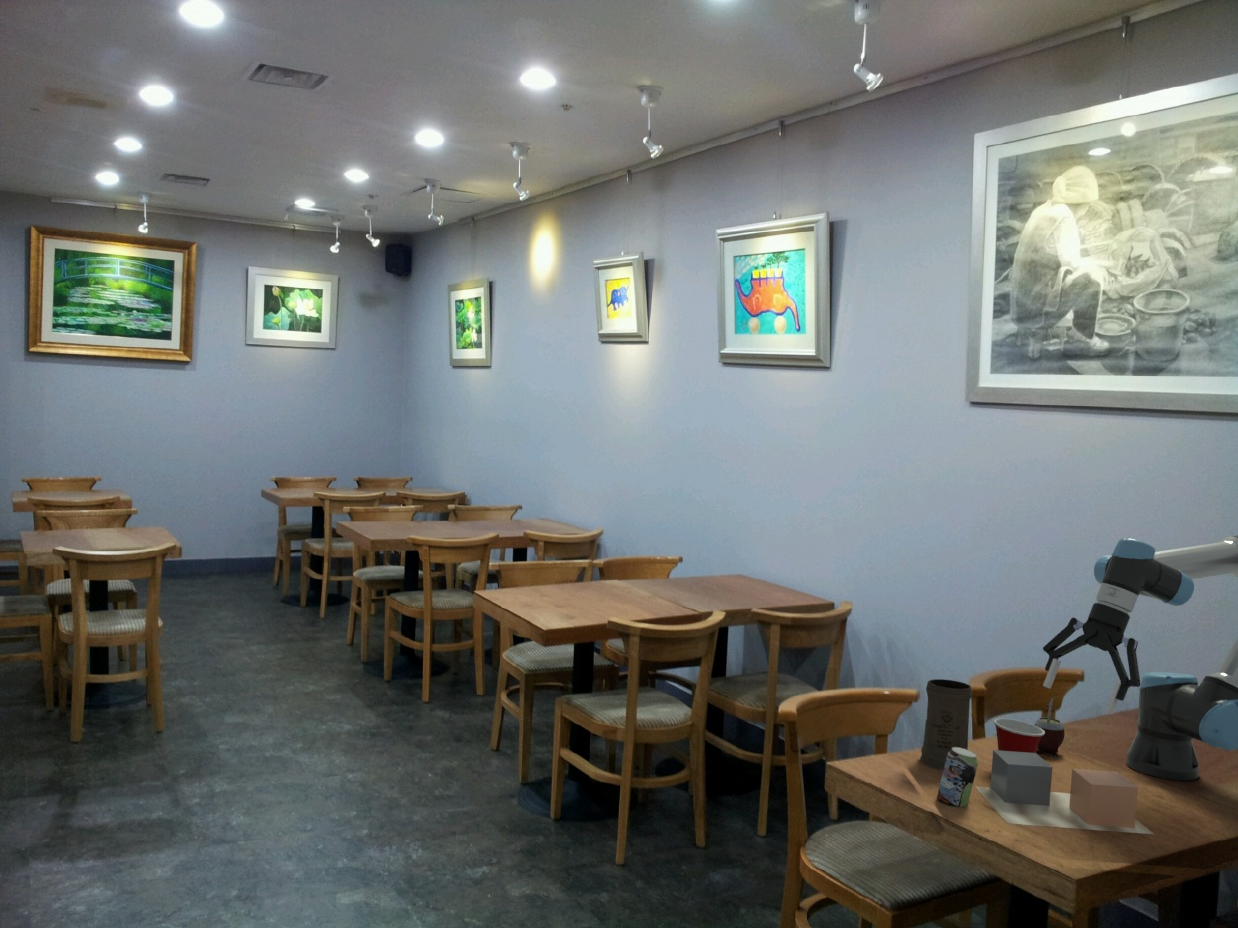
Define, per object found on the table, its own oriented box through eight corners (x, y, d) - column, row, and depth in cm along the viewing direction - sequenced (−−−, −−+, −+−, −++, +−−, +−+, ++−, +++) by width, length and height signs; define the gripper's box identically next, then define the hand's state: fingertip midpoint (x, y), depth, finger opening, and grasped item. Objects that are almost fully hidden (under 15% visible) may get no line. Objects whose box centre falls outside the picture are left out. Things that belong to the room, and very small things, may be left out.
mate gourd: (1047, 746, 249) (1052, 687, 249) (1072, 757, 242) (1077, 696, 242) (1024, 748, 247) (1028, 688, 246) (1048, 759, 239) (1052, 697, 239)
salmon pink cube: (1113, 810, 204) (1116, 771, 204) (1134, 827, 195) (1138, 787, 195) (1069, 807, 204) (1072, 768, 204) (1088, 824, 195) (1091, 784, 195)
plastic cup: (1046, 788, 219) (1050, 734, 218) (994, 781, 221) (998, 728, 220) (1035, 772, 229) (1039, 720, 229) (986, 766, 231) (990, 715, 231)
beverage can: (932, 800, 207) (937, 743, 206) (968, 802, 207) (972, 745, 206) (941, 811, 201) (946, 753, 200) (978, 814, 200) (982, 755, 200)
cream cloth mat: (1106, 801, 212) (1107, 795, 212) (1153, 839, 192) (1154, 833, 192) (974, 791, 213) (974, 786, 213) (1007, 829, 193) (1007, 823, 193)
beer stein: (972, 779, 221) (978, 689, 222) (922, 773, 223) (928, 684, 224) (961, 762, 236) (966, 677, 237) (914, 756, 238) (919, 672, 239)
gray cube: (1032, 789, 213) (1035, 752, 213) (1049, 805, 204) (1052, 767, 204) (990, 786, 214) (993, 749, 213) (1005, 802, 205) (1008, 763, 204)
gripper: (1050, 585, 222) (1015, 674, 220) (1168, 624, 204) (1131, 721, 202) (1062, 592, 227) (1028, 679, 226) (1178, 631, 209) (1142, 726, 208)
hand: (1077, 700), depth 214 cm, fingers open, 13 cm apart
